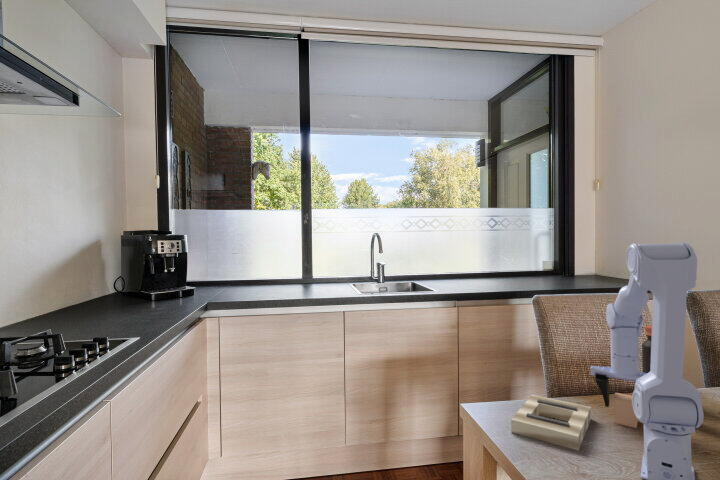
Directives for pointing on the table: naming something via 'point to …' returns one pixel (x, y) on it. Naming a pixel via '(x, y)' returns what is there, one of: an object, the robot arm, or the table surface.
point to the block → (624, 410)
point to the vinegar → (647, 350)
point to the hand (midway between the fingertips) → (625, 409)
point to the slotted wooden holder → (552, 421)
